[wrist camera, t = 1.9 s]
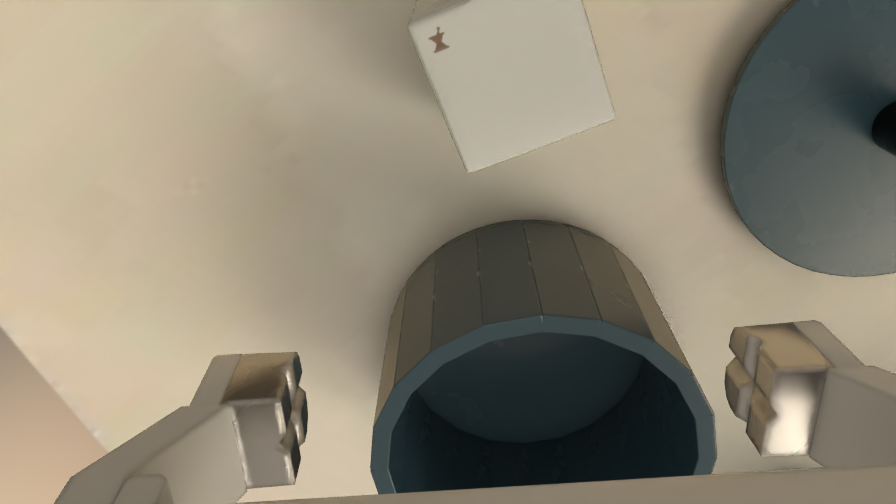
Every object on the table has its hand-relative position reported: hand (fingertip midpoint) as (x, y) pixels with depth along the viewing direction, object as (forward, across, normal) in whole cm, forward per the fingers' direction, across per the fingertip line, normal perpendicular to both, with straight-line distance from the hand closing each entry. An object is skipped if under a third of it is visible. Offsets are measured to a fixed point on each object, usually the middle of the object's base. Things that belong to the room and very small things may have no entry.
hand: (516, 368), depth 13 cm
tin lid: (+20, -20, +2) cm, 28 cm away
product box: (+22, -2, -3) cm, 22 cm away
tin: (+22, -3, +13) cm, 26 cm away
